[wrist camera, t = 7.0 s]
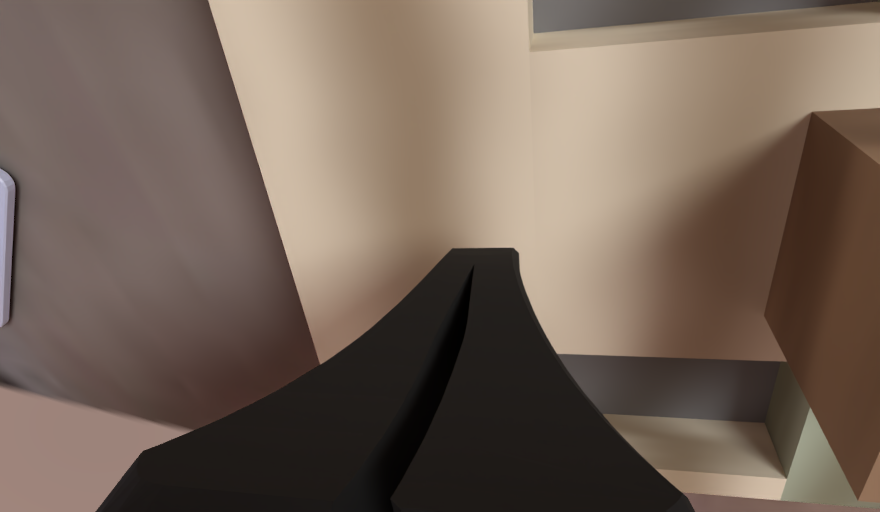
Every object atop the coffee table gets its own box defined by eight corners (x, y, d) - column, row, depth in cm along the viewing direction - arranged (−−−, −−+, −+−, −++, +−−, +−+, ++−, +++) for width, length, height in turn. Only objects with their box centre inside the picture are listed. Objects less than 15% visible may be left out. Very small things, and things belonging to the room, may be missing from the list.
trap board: (371, 410, 21) (331, 515, 18) (210, -211, 12) (46, -270, 8) (919, 444, 17) (1017, 589, 14) (1363, -462, 8) (2123, -818, 4)
